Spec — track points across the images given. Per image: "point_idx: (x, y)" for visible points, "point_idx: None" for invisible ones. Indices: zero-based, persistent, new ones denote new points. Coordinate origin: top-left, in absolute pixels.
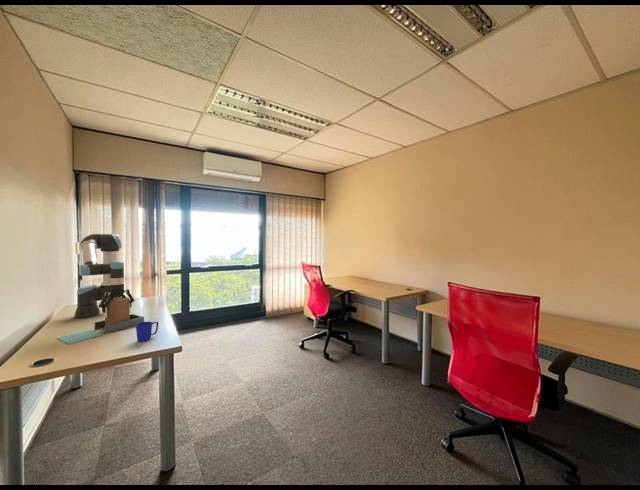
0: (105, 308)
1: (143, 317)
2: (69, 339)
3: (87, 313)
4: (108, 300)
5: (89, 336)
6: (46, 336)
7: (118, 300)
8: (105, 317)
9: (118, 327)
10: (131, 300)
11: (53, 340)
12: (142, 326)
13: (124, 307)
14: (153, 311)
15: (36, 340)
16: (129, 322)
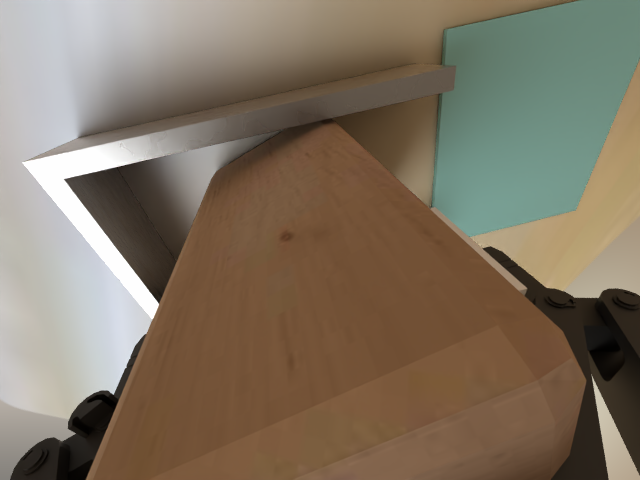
0: (518, 286)
1: (34, 157)
2: (587, 114)
3: None
4: (593, 459)
5: (510, 75)
6: (558, 270)
7: (480, 397)
8: (435, 213)
9: (316, 89)
10: (84, 474)
11: (599, 181)
12: None
13: (243, 260)
14: (53, 407)
15: (608, 237)
16: (208, 117)
